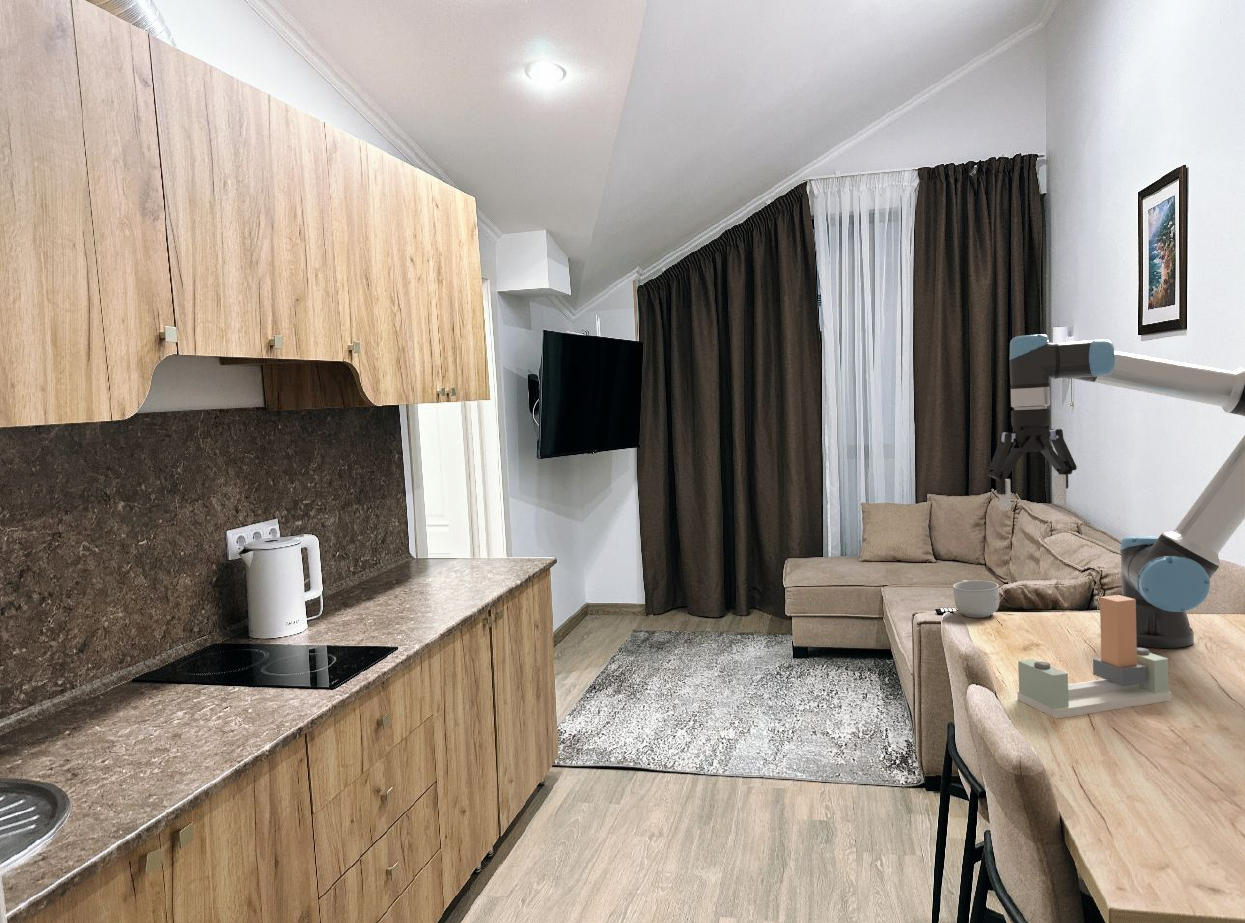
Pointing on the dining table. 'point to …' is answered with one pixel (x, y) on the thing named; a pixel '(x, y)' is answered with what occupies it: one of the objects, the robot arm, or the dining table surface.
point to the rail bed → (1099, 698)
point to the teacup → (976, 598)
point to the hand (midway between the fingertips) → (1033, 507)
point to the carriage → (1118, 642)
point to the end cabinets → (1053, 683)
